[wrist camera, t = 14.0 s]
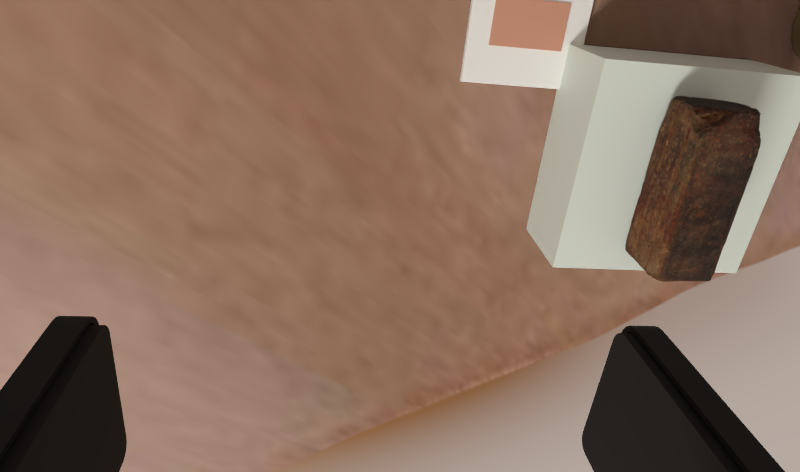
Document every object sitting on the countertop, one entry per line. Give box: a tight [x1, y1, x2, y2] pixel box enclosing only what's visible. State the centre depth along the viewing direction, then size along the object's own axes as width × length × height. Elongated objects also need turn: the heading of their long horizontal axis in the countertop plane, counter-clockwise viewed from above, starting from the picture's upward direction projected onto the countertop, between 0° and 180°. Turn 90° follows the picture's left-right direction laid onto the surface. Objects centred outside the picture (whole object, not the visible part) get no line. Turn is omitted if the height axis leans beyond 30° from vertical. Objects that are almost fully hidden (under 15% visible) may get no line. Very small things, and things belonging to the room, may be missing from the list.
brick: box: [625, 96, 761, 282], centre depth 35 cm, size 11×4×5 cm, turn 175°
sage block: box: [526, 44, 800, 273], centre depth 40 cm, size 14×14×6 cm
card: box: [460, 0, 594, 89], centre depth 37 cm, size 8×8×1 cm
